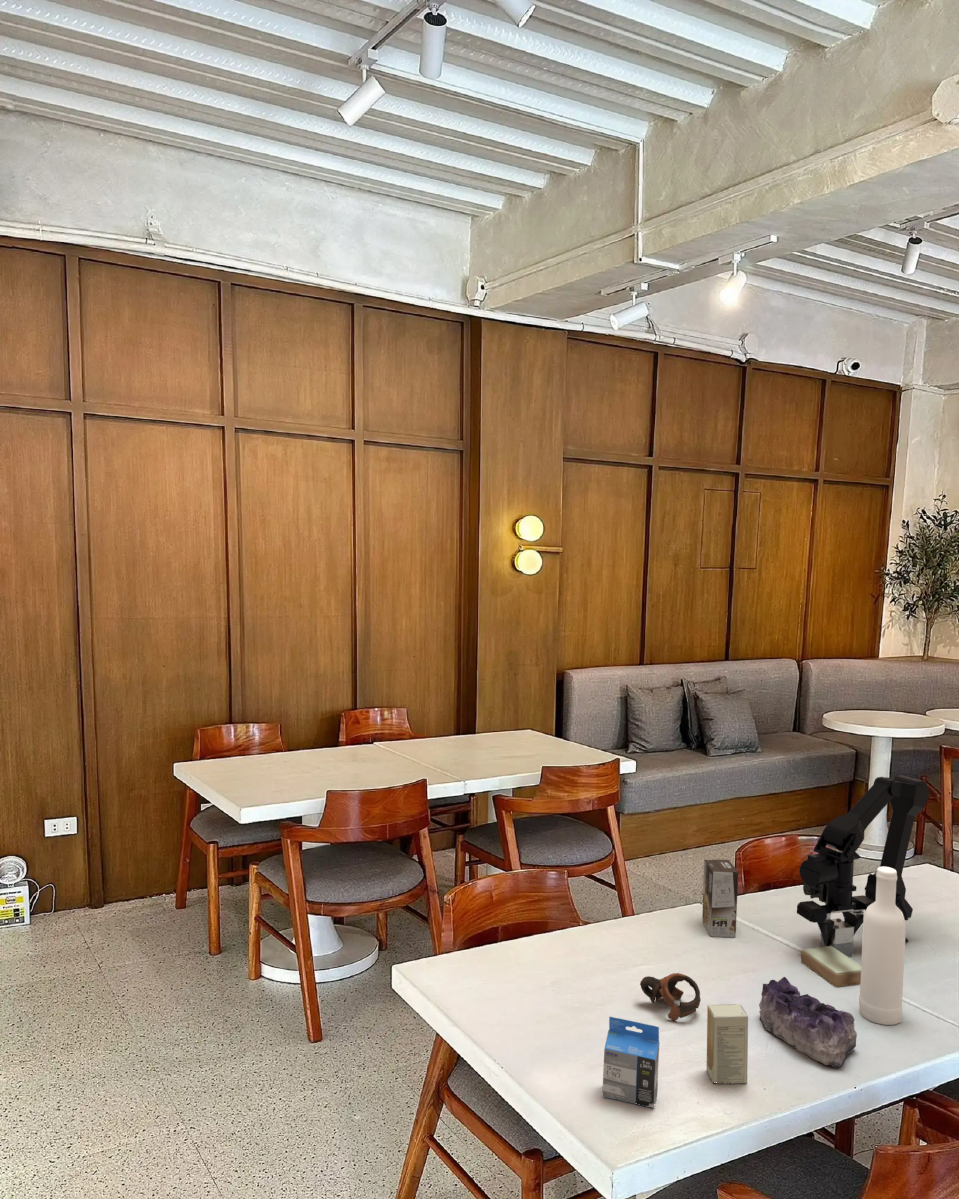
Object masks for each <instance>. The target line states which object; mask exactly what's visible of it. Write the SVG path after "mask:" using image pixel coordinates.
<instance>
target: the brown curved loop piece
mask: <svg viewBox="0 0 959 1199" xmlns="http://www.w3.org/2000/svg"><path fill="white" fill-rule="evenodd" d="M684 981H685V982H686V983H688V984H689V986H690V987H691V988H692V989H693V990H694V993H695V997H694V998H693V999H692V1000H691V1001H690V1000H689V1001H685V1002H684V1001H680V999H681V1000H682V997H683V995H684V991H683V990H681V989H679V988H678V987H676V985H677V984H678V983H681V982H684ZM639 985H640V989H641V990H642V992H643V993H644V995H645V996H646V997H648V998H649V1000H650V1001H651V1003H652V1004H654V1005H655V1002H658V1001H659V1000H661V999H663V1000H664V1002H665V1003H666V1005H667V1006H668V1007H669V1008H670V1010H669V1013H668V1014H667V1018H668V1019H669V1020H671V1021H673V1020H674V1021H673V1022H676V1021H677V1020H679V1018H680V1019H682V1018H685V1017H688V1016H691V1015H692V1014H694V1013H696V1012H697V1009H699V1006H700V1004H701V991H700V988H699V986H698V984H697V982H696V981H695V980H694V979H693V978H691V977H690V976H688V975H686V974H684V973H683V974H682V973H679V972H677V973H670V974H669V975H667V976H664V977H663V978H660V979H659V978H656V977H654V976H650V975H649V976H644V977H643V978H642V980H641V981H640V983H639ZM676 999H677V1000H679V1005H678V1004H676V1003H675V1000H676ZM675 1020H676V1021H675Z"/></svg>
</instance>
